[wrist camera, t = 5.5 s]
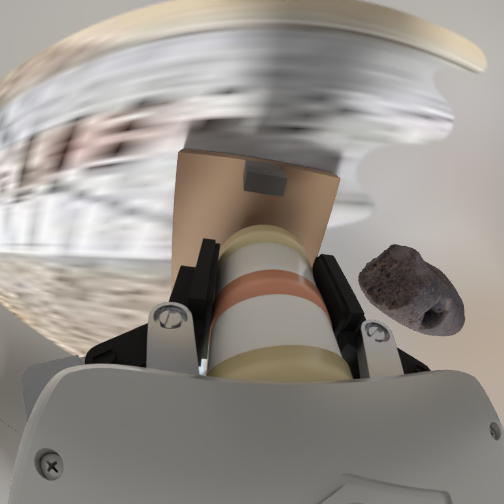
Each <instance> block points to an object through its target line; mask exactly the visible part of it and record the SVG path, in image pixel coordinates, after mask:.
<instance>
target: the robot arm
mask: <svg viewBox="0 0 504 504" xmlns="http://www.w3.org/2000/svg"><path fill="white" fill-rule="evenodd" d="M219 251H220V244H219V243H216V240H214V239H207V238H203V241H202V245H201V248H200V252H199V256H198V260H197V264H196V267H191V266H183V265H181V266H180V269H179V272H178V275H177V278H176V281H175V284H174V287H173V290H172V293H171V296H170V300H169V302H164V303H161V304H158V305H156V306H155V307H153V308H152V309H151V311H150V313H149V317H148V323H147V324H145V325H142V326H140V327H138V328H135V329H133V330H131V331H129V332H126V333H124V334H122V335H119V336H117V337H115V338H112V339H110V340H108V341H105V342H103V343H101V344H98V345H96V346H94V347H93V348H91V349H90V350H89V351H88V352H87V355H86V356H85V357H81V358H79V356H78V355H75V356H71V357H66V358H61V359H57V360H52V361H48V362H43V363H38V364H34V365H31V366H29V367H28V368H27V369H26V370H25V371H24V373H23V375H22V390H23V399H24V405H25V412H26V418H27V425H26V428H25V430H24V433H23V436H22V440H21V443H20V447H19V450H18V454H17V458H16V462H15V466H14V471H13V475H12V480H11V485H10V492H9V501H8V504H504V430H503V427H502V425H501V423H500V420H499V418H498V416H497V413H496V411H495V409H494V407H493V405H492V403H491V401H490V399H489V397H488V395H487V394H486V392H485V390H484V389H483V387H482V386H481V384H480V383H479V382H478V380H477V379H476V378H475V377H473V376H472V375H470V374H467V373H464V372H460V371H454V370H436V371H431V370H430V369H429V368H428V367H427V366H426V365H425V364H423V363H422V362H420V361H418V360H417V359H415V358H414V357H412V356H410V355H409V354H407V353H405V352H404V351H402V350H400V349H399V348H397V347H396V343H395V340H394V337H393V334H392V332H391V330H390V329H389V328H388V327H387V326H386V325H385V324H383V323H381V322H379V321H376V320H366V319H365V317H364V312H363V310H362V308H361V306H360V304H359V302H358V300H357V298H356V296H355V294H354V293H353V290H352V289H351V287H350V285H349V283H348V281H347V279H346V277H345V276H344V274H343V272H342V270H341V268H340V267H339V265H338V263H337V261H336V259H335V258H334V256H333V255H325V254H321V255H320V256H319V257H316V258H315V260H314V263H313V266H312V270H313V278H314V281H315V284H316V286H317V288H318V290H319V292H320V293H321V295H322V298H323V301H324V303H325V306H326V309H327V311H328V314H329V317H330V320H331V323H332V330H333V333H334V335H335V338H336V341H337V344H338V347H339V350H340V353H341V356H342V358H343V359H344V360H345V361H346V362H347V364H348V365H349V368H350V371H351V374H352V377H353V379H349V380H328V381H271V380H249V379H234V378H222V377H212V376H203V375H200V373H199V366H200V367H201V362H202V359H207V357H208V347H209V335H210V326H211V316H212V308H213V301H214V292H215V283H216V275H217V267H218V259H219Z"/></svg>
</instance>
